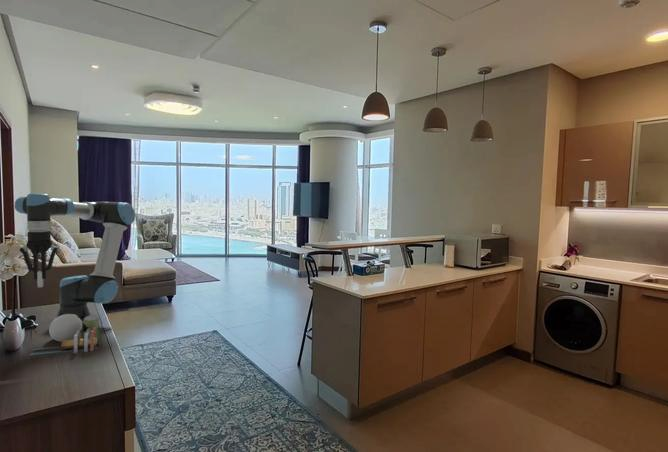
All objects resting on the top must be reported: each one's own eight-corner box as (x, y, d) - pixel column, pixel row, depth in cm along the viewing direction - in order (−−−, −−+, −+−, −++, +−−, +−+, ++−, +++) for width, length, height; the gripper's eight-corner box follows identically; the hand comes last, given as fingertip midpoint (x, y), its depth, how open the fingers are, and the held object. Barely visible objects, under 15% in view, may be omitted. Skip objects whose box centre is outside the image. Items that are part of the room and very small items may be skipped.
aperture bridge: (93, 344, 161) (93, 326, 161) (95, 344, 162) (96, 326, 162) (90, 351, 154) (90, 332, 154) (93, 350, 155) (93, 332, 154)
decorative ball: (86, 340, 168) (87, 314, 167) (54, 348, 158) (55, 320, 157) (76, 334, 175) (76, 309, 174) (44, 341, 165) (45, 314, 164)
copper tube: (60, 350, 152) (61, 339, 153) (62, 350, 155) (63, 340, 156) (95, 346, 157) (96, 336, 158) (96, 347, 160) (97, 337, 162)
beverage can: (96, 339, 170) (97, 313, 170) (100, 343, 165) (101, 317, 164) (80, 342, 166) (80, 315, 165) (84, 347, 161) (84, 319, 160)
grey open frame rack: (34, 352, 153) (34, 348, 153) (99, 345, 163) (100, 341, 163) (27, 360, 145) (27, 356, 145) (97, 353, 155) (97, 348, 155)
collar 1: (77, 345, 159) (77, 328, 159) (81, 345, 160) (81, 328, 160) (73, 353, 151) (74, 335, 151) (77, 352, 152) (77, 335, 152)
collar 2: (87, 344, 161) (87, 328, 161) (90, 344, 162) (90, 327, 161) (84, 352, 153) (84, 334, 153) (87, 351, 153) (87, 334, 153)
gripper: (16, 232, 149) (18, 290, 151) (56, 231, 155) (58, 287, 157) (21, 230, 155) (23, 285, 157) (59, 229, 162) (61, 283, 164)
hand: (40, 286), depth 157 cm, fingers closed
